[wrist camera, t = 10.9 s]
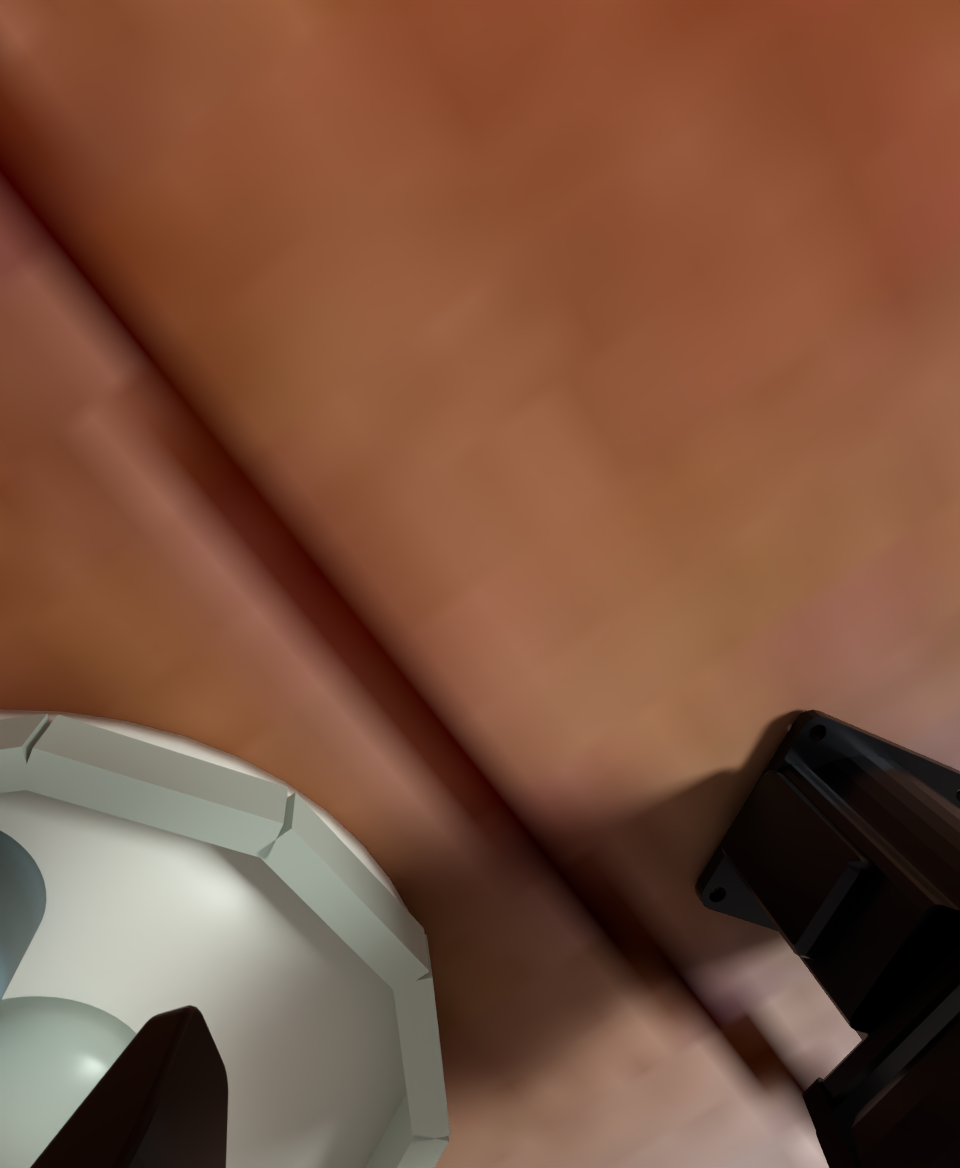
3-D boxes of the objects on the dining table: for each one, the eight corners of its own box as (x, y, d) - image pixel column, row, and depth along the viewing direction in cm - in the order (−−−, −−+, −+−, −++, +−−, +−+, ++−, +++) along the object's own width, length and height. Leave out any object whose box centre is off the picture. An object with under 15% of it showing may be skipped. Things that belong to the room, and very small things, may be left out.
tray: (557, 856, 22) (580, 913, 20) (273, 1364, 26) (266, 1457, 24) (-320, 572, 16) (-421, 610, 14) (-498, 1280, 21) (-596, 1392, 18)
